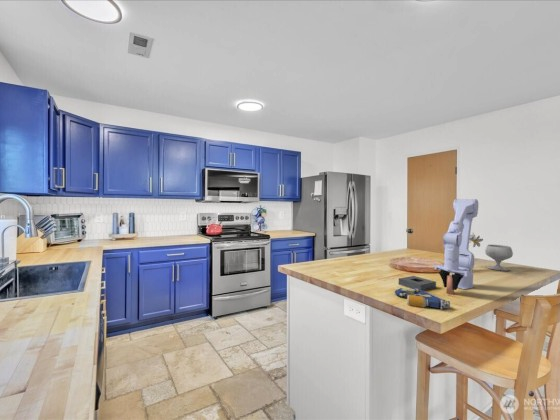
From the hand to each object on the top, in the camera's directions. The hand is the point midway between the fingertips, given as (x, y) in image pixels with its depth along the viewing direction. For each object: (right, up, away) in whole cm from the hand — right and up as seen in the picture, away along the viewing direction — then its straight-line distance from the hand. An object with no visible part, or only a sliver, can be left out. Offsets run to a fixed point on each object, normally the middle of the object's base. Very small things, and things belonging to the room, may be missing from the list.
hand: (450, 288), depth 127 cm
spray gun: (-21, -3, -11) cm, 24 cm away
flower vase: (+37, -2, +45) cm, 58 cm away
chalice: (+63, -2, +52) cm, 81 cm away
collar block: (-10, -2, +10) cm, 15 cm away
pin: (0, -2, 0) cm, 2 cm away
